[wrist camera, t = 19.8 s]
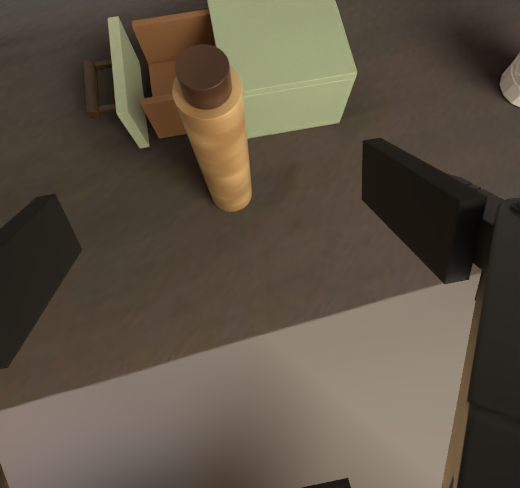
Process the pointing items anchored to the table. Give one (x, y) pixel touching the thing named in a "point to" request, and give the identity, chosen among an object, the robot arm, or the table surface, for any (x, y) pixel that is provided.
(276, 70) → the cabinet
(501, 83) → the white cup
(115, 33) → the drawer
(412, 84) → the table surface
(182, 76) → the pepper mill
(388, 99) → the table surface
